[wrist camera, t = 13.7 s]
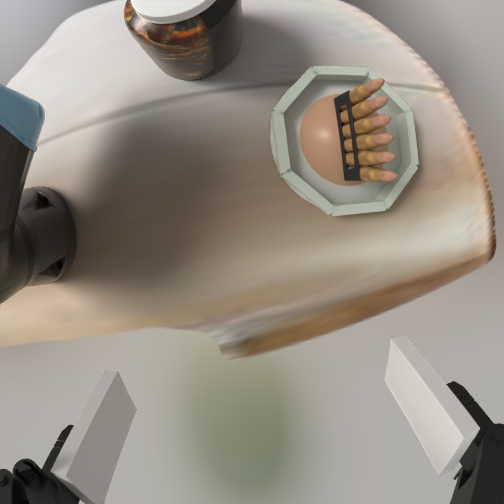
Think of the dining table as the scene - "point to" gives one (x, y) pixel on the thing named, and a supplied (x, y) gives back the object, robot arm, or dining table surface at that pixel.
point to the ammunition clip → (353, 109)
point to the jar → (187, 34)
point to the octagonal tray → (337, 142)
